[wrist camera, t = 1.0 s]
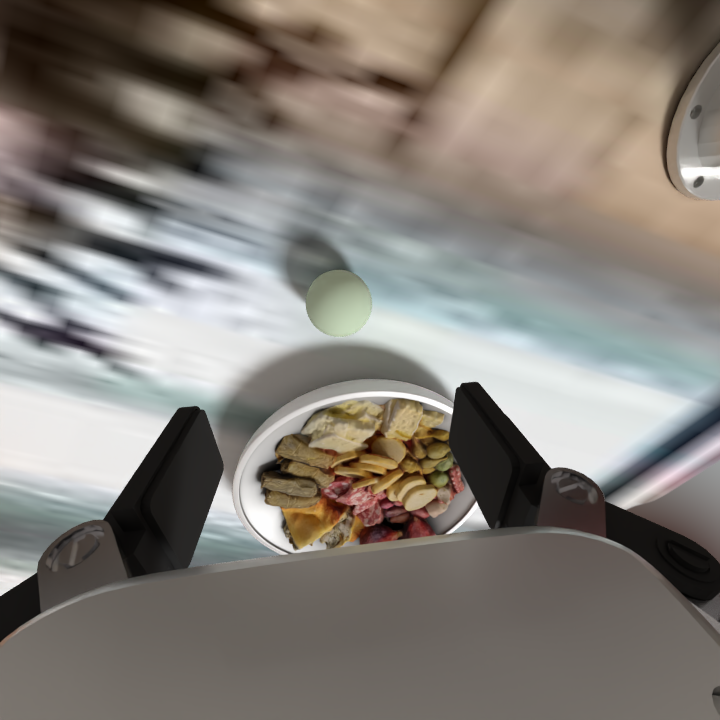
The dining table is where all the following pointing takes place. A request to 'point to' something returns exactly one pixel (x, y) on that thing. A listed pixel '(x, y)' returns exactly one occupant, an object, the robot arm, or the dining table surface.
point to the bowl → (352, 469)
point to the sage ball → (338, 303)
